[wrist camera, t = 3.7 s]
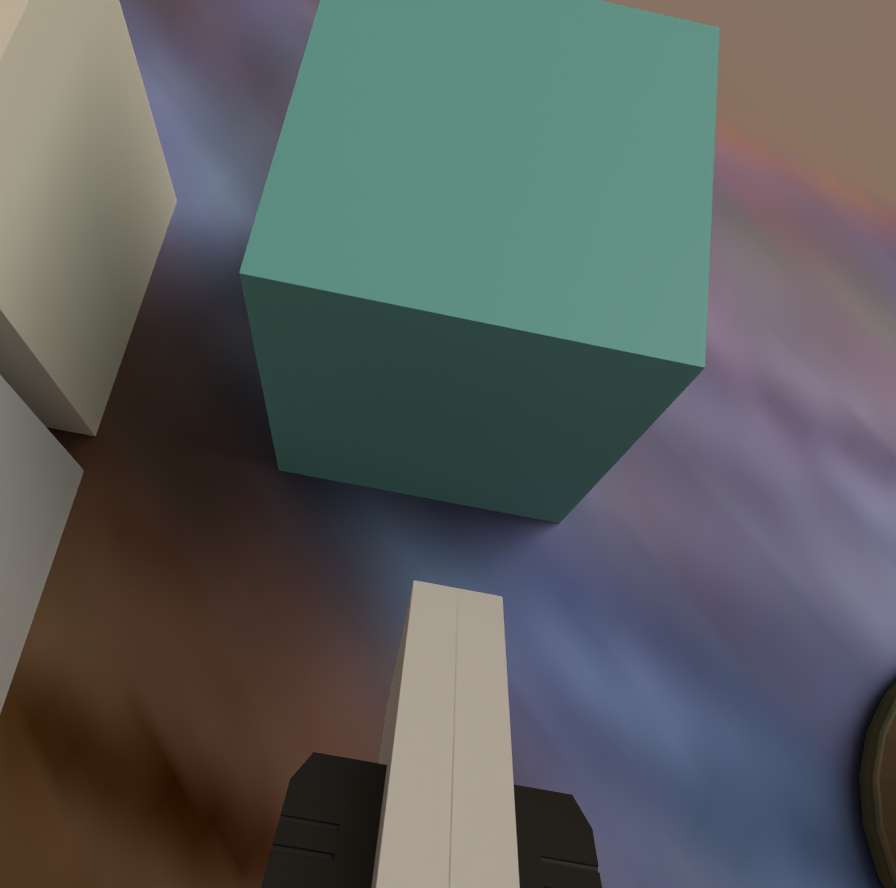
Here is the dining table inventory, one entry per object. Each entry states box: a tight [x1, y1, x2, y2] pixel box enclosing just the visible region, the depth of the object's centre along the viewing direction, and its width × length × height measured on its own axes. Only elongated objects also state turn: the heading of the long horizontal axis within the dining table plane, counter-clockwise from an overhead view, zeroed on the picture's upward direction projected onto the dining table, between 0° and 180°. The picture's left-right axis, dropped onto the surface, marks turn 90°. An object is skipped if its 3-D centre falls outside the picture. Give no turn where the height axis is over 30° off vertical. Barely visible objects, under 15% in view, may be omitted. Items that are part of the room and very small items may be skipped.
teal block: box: [239, 0, 720, 523], centre depth 20 cm, size 8×8×10 cm
